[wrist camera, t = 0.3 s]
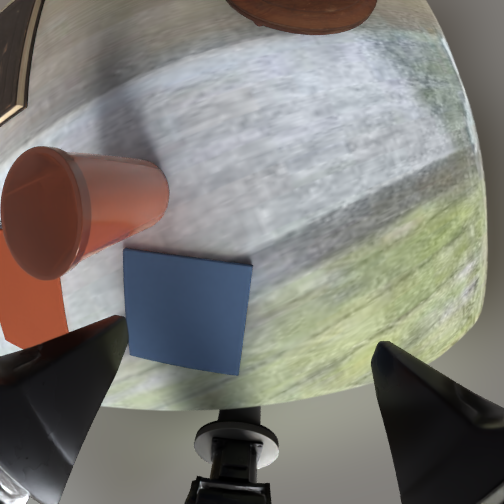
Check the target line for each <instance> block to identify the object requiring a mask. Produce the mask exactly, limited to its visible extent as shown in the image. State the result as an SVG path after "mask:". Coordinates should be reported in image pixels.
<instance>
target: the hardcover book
mask: <svg viewBox="0 0 504 504" xmlns="http://www.w3.org/2000/svg"><path fill="white" fill-rule="evenodd" d="M43 3H44V0H15V1H14V2H13V3H11V4H10V5H9V6H8V7H7V8H6V9H5V10H3V11H2V12H1V13H0V127H1V126H2V125H3V124H4V123H6V122H7V121H8V120H10V119H11V118H12V117H14V116H15V115H17V114H18V113H19V112H21V111H22V110H24V109H25V108H27V96H28V83H29V74H30V65H31V58H32V52H33V46H34V41H35V36H36V31H37V26H38V22H39V18H40V14H41V10H42V7H43Z"/></svg>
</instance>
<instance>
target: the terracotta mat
mask: <svg viewBox="0 0 504 504" xmlns="http://www.w3.org/2000/svg"><path fill="white" fill-rule="evenodd" d="M0 323H1V326H2V330H3V333H4V336H5V340H7V341H8V342H10V343H12V344H14V345H16V346H18V347H20V348H22V349H26V348H29V347H32V346H35V345H37V344H41V343H43V342H45V341H48V340H51V339H53V338H56V337H59V336H61V335H64V334H67V333H69V332H68V327H67V322H66V316H65V310H64V304H63V298H62V290H61V282H60V277H59V278H57V279H54V280H50V281H44V280H39V279H36V278H34V277H32V276H30V275H29V274H27V273H26V272H25V271H24V270H23V269H22V268H21V267H20V266H19V265H18V264H17V262H16V261H15V259H14V258H13V256H12V254H11V252H10V250H9V248H8V246H7V243H6V241H5V237H4V234H3V229H0Z"/></svg>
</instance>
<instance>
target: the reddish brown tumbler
mask: <svg viewBox="0 0 504 504" xmlns="http://www.w3.org/2000/svg"><path fill="white" fill-rule="evenodd" d="M168 202H169V186H168V182H167V180H166V177H165V175H164V174H163V172H162V171H161V170H160V168H159V167H157V166H156V165H155V164H153V163H152V162H150V161H147V160H143V159H135V158H127V157H118V156H109V155H99V154H89V153H77V152H65V151H63V150H61V149H59V148H55V147H46V146H38V147H33V148H31V149H29V150H27V151H25V152H24V153H23V154H21V155H20V156H19V157H18V158H17V160H16V161H15V162H14V163H13V165H12V167H11V168H10V170H9V172H8V174H7V177H6V179H5V182H4V186H3V190H2V196H1V223H2V229H3V234H4V237H5V241H6V243H7V246H8V248H9V250H10V252H11V254H12V256H13V258H14V259H15V261H16V262H17V264H18V265H19V266H20V267H21V268H22V269H23V270H24V271H25V272H26V273H27V274H29V275H30V276H32V277H34V278H36V279H39V280H44V281H50V280H54V279H57V278H59V277H61V276H63V275H65V274H66V273H68V272H69V271H71V270H72V269H73V268H74V267H75V266H76V265H77V264H78V263H79V262H81V261H83V260H84V259H86V258H88V257H90V256H92V255H94V254H96V253H98V252H100V251H102V250H104V249H106V248H108V247H110V246H112V245H114V244H116V243H118V242H120V241H122V240H124V239H126V238H128V237H131V236H133V235H135V234H137V233H139V232H141V231H143V230H145V229H148V228H150V227H152V226H153V225H155V224H156V223H157V222H158V221H159V220H160V219H161V218H162V216H163V215H164V213H165V211H166V209H167V206H168Z"/></svg>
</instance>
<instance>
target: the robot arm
mask: <svg viewBox="0 0 504 504" xmlns="http://www.w3.org/2000/svg"><path fill="white" fill-rule="evenodd" d="M128 342H129V332H128V325H127V320H126V318H125V317H124V316H119V315H113V316H111V317H108V318H106V319H103V320H100V321H98V322H95V323H93V324H90V325H87V326H85V327H82V328H80V329H77V330H74V331H72V332H69V333H67V334H64V335H61V336H59V337H56V338H53V339H51V340H48V341H45V342H43V343H41V344H37V345H35V346H32V347H29V348H26V349H24V350H21V351H17V352H14V353H11V354H7V355H4V356H0V504H26V503H27V501H28V499H29V497H31V498H33V499H34V500H36V501H37V502H39V503H40V504H59V501H60V498H61V496H62V493H63V491H64V488H65V485H66V483H67V480H68V478H69V475H70V473H71V470H72V468H73V465H74V463H75V461H76V458H77V456H78V454H79V451H80V449H81V446H82V444H83V442H84V440H85V438H86V435H87V433H88V431H89V429H90V427H91V424H92V422H93V420H94V418H95V416H96V414H97V411H98V410H99V408H100V406H101V404H102V401H103V399H104V397H105V395H106V393H107V391H108V389H109V387H110V385H111V383H112V381H113V379H114V377H115V375H116V373H117V371H118V368H119V365H120V363H121V360H122V357H123V355H124V352H125V350H126V347H127V344H128ZM371 368H372V373H373V379H374V384H375V390H376V396H377V400H378V404H379V407H380V411H381V415H382V418H383V422H384V426H385V430H386V433H387V437H388V441H389V445H390V450H391V454H392V458H393V462H394V467H395V471H396V476H397V481H398V486H399V491H400V495H401V496H400V497H401V502H402V504H504V408H503V407H501V406H499V405H497V404H495V403H493V402H491V401H489V400H487V399H485V398H483V397H481V396H479V395H477V394H475V393H473V392H472V391H470V390H468V389H467V388H465V387H463V386H461V385H460V384H458V383H456V382H455V381H453V380H451V379H450V378H448V377H446V376H445V375H443V374H442V373H440V372H439V371H437V370H435V369H433V368H432V367H430V366H429V365H427V364H426V363H424V362H422V361H421V360H419V359H417V358H416V357H414V356H412V355H411V354H409V353H408V352H406V351H404V350H403V349H401V348H399V347H398V346H396V345H395V344H393V343H391V342H390V341H380V342H379V343H378V344H377V346H376V349H375V352H374V354H373V357H372V360H371ZM262 449H263V442H257V441H246V440H237V439H229V438H221V437H213V438H212V446H211V462H212V468H211V474H210V479H209V478H203V477H201V476H197V478H196V480H194V481H192V484H191V489H190V492H189V494H188V497H187V499H186V501H185V504H271V495H270V483H265V484H264V483H257V466H258V463H259V459H260V456H261V453H262Z"/></svg>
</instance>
